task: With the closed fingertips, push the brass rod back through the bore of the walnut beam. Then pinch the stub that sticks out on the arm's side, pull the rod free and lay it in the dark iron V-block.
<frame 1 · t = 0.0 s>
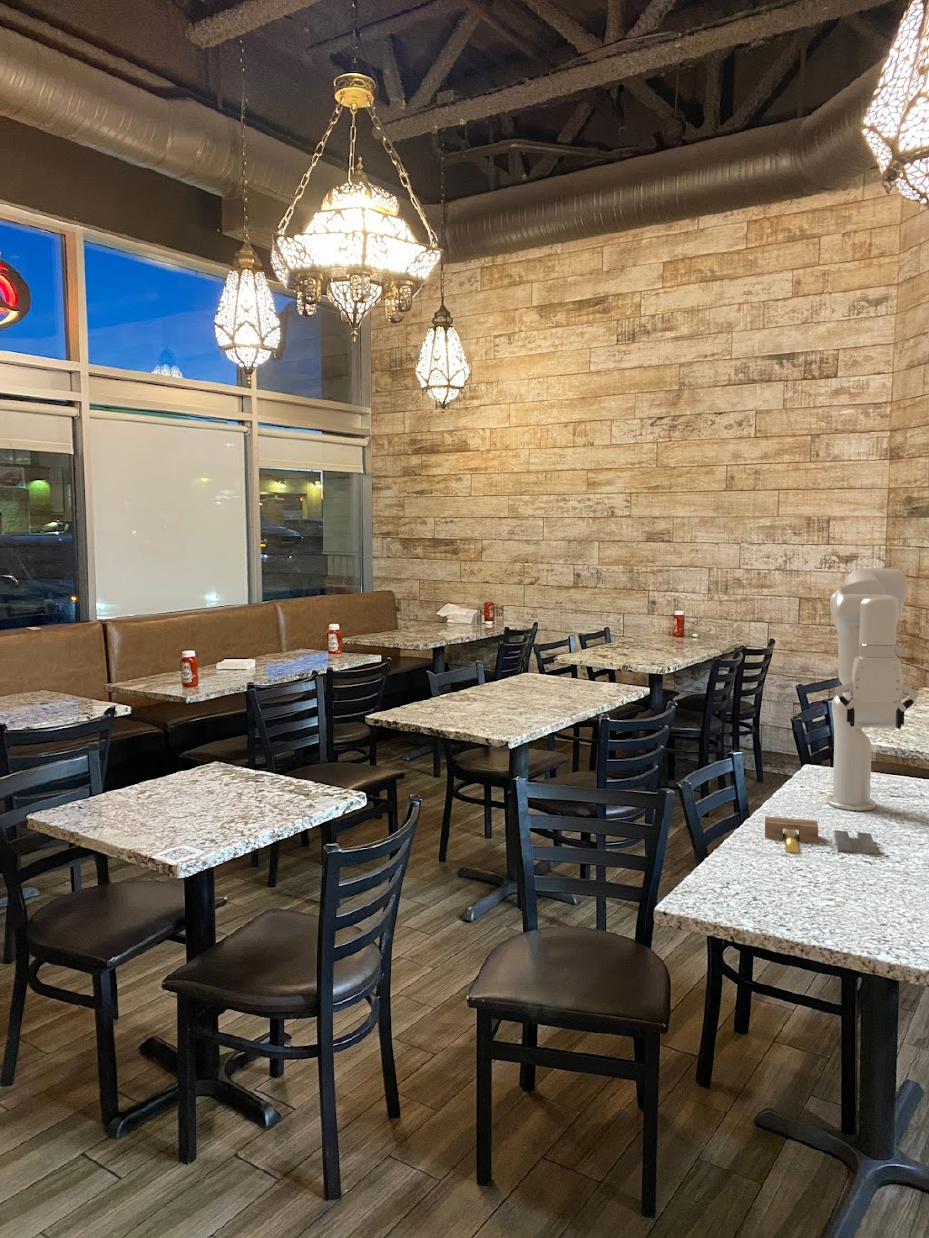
hand: (874, 726, 199), 31 cm above the table, tool pointing down, fingers open, 9 cm apart
iron V-block: (854, 850, 207), on the table
walnut beam: (790, 841, 214), on the table
brass rod: (791, 842, 210), point 1 cm above the table
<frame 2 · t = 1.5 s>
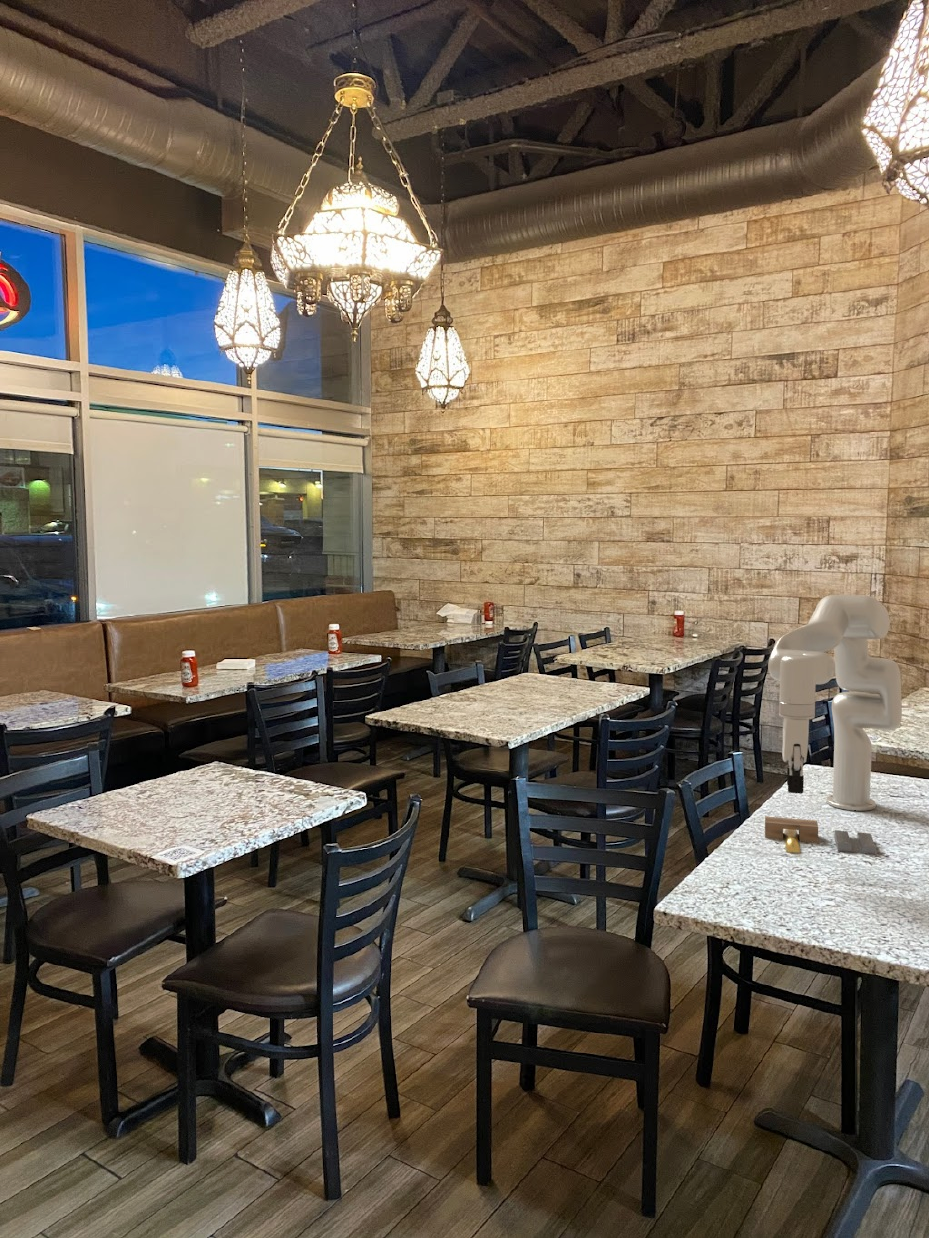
hand: (794, 788, 198), 17 cm above the table, tool pointing down, fingers open, 5 cm apart
nothing on the table moved.
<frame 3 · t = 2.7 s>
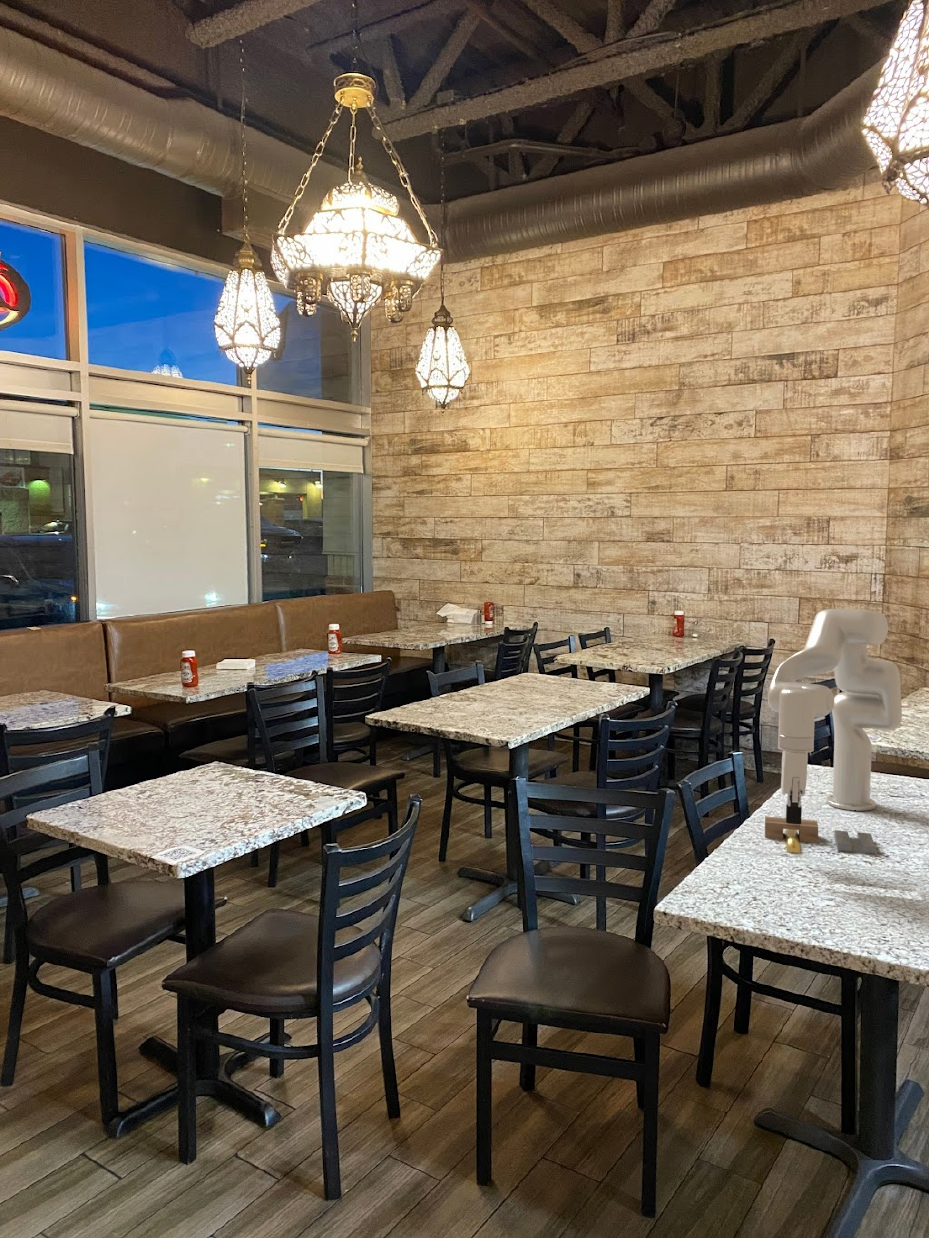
hand: (793, 822, 198), 10 cm above the table, tool pointing down, fingers closed
nothing on the table moved.
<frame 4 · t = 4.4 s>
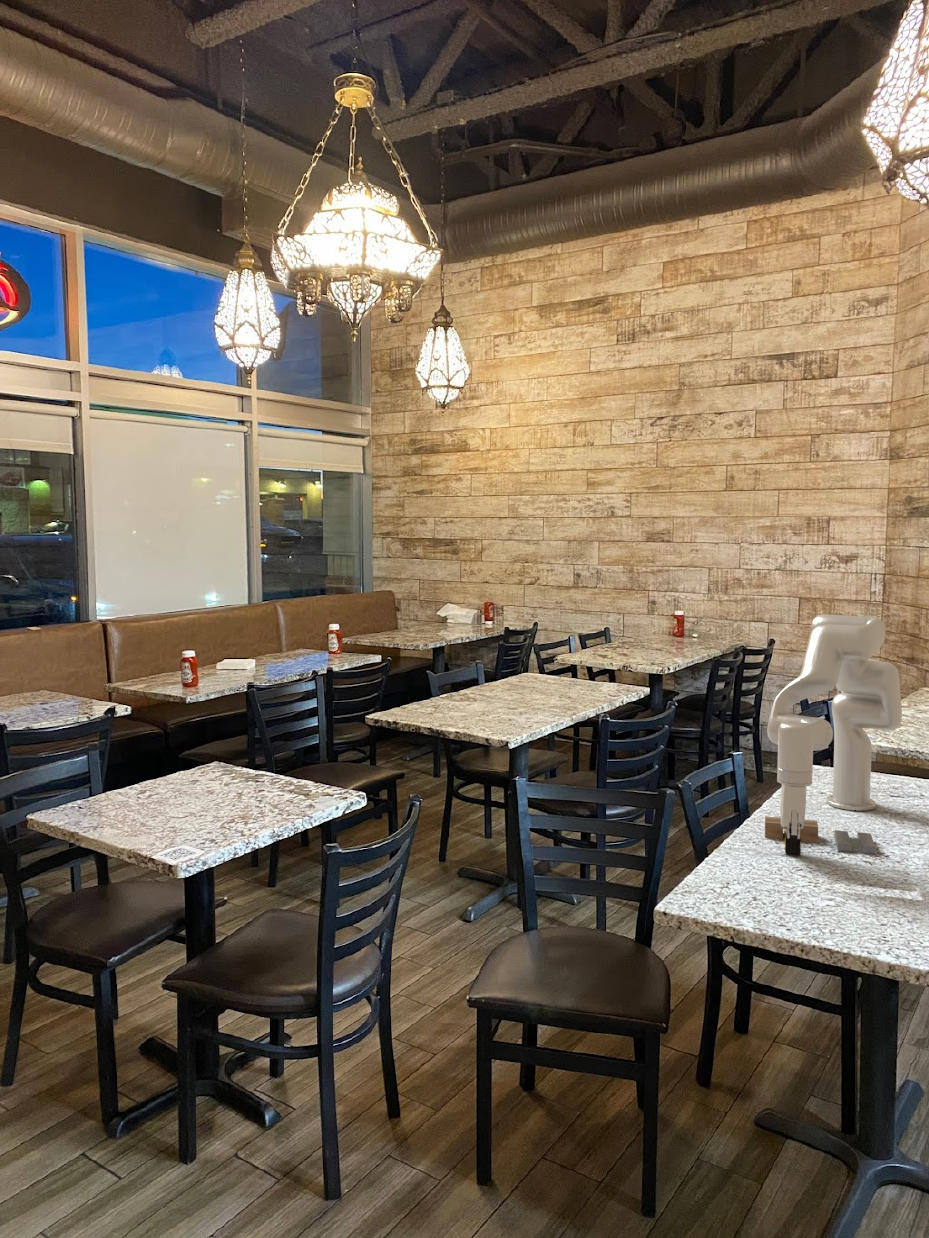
hand: (792, 853, 202), 1 cm above the table, tool pointing down, fingers closed
brass rod: (790, 840, 210), point 1 cm above the table, tilted 8°, touching gripper
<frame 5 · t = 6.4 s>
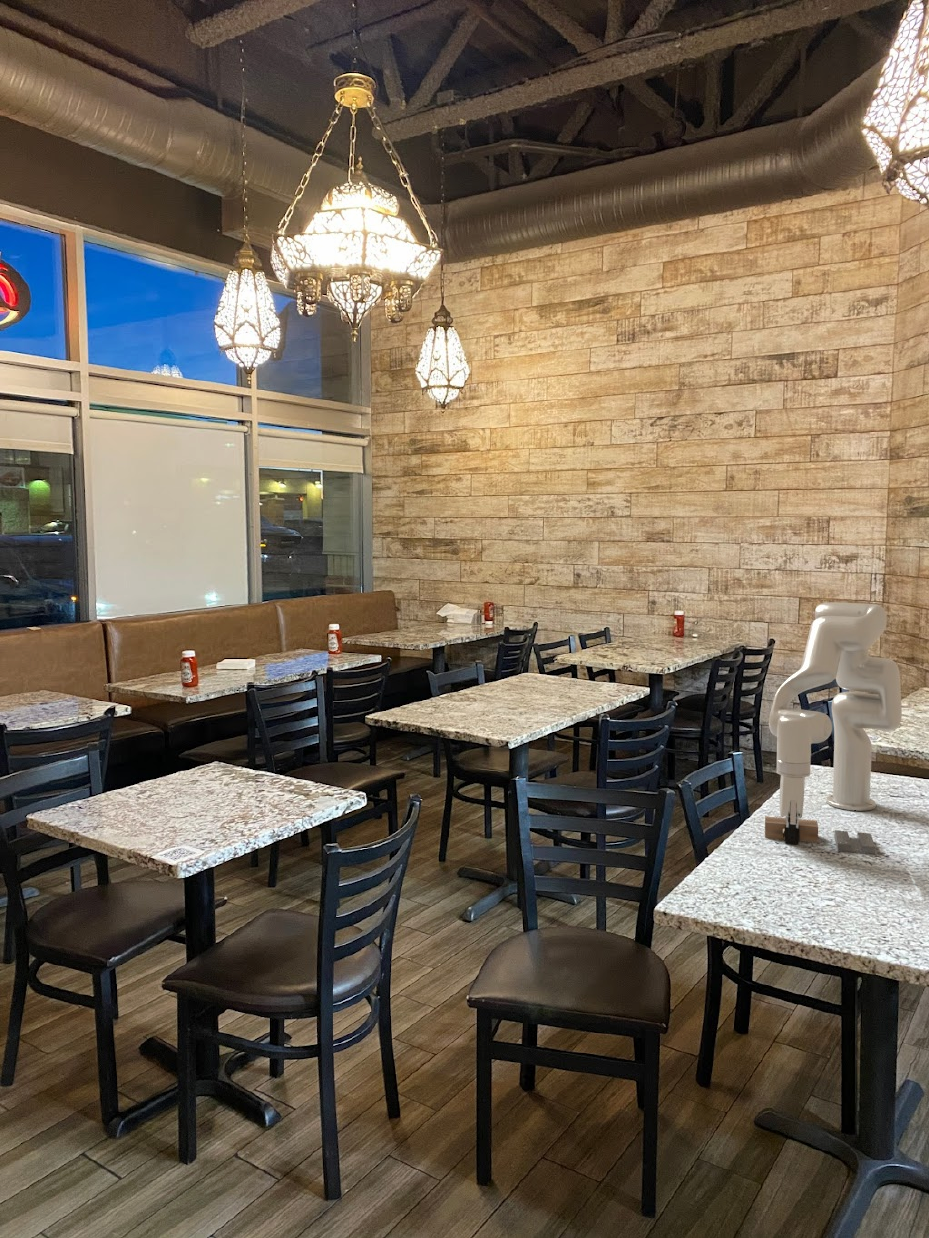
hand: (791, 842, 209), 1 cm above the table, tool pointing down, fingers closed
brass rod: (789, 831, 218), point 1 cm above the table, tilted 10°
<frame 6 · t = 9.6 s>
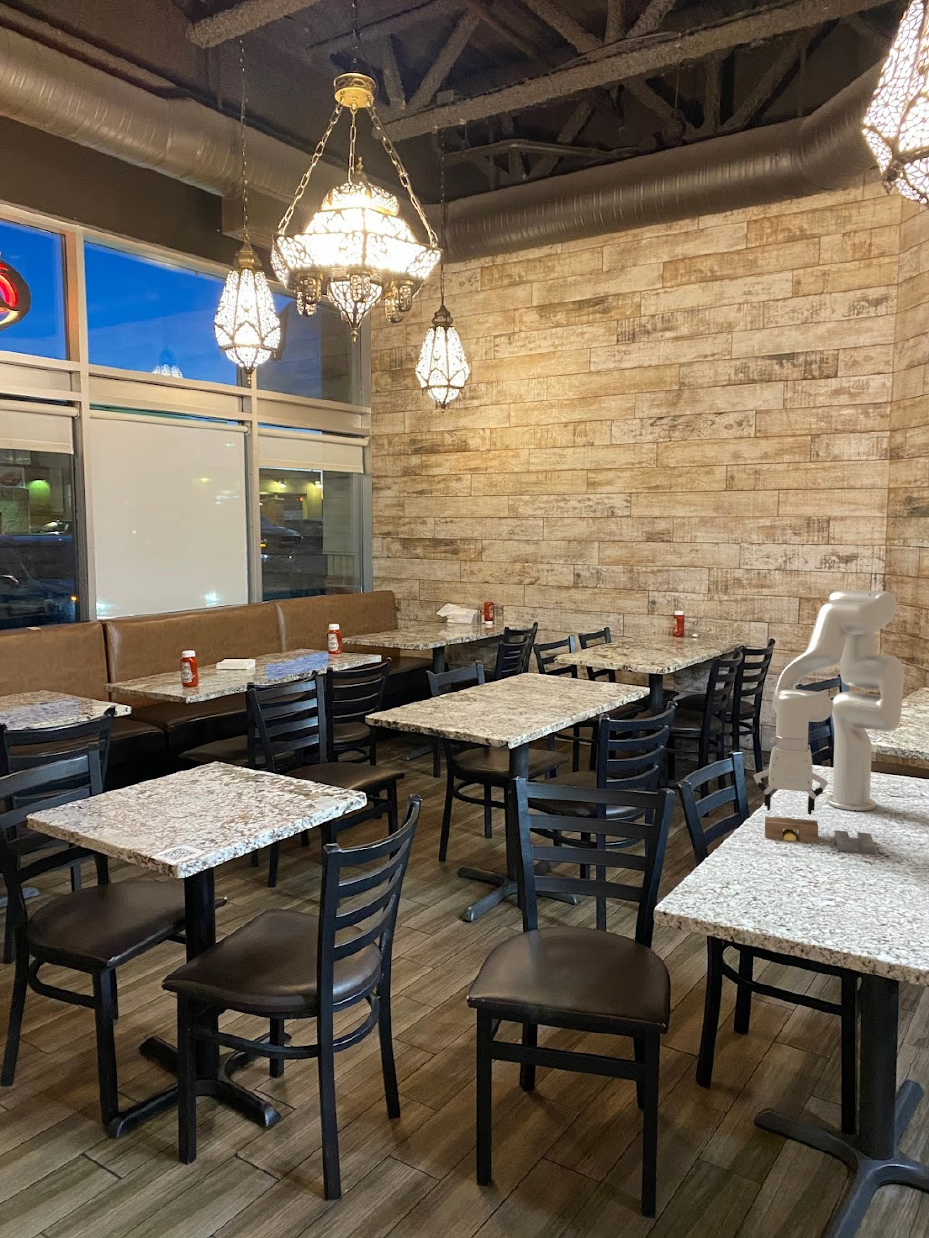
hand: (788, 811, 219), 6 cm above the table, tool pointing down, fingers open, 9 cm apart
brass rod: (789, 831, 218), point 1 cm above the table, tilted 15°
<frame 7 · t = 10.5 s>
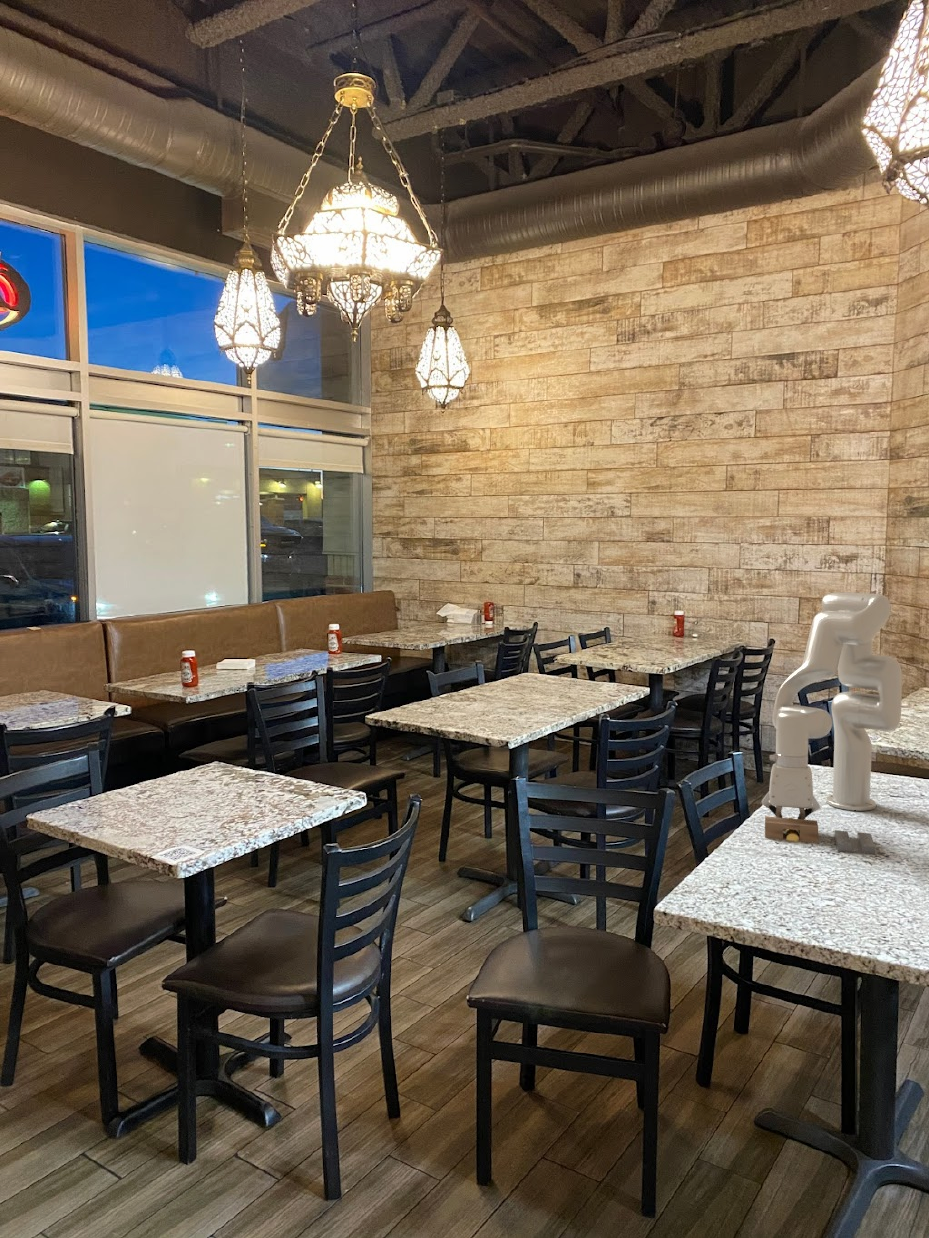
hand: (789, 831, 220), 0 cm above the table, tool pointing down, fingers open, 3 cm apart
brass rod: (791, 831, 218), point 1 cm above the table, tilted 12°, touching gripper
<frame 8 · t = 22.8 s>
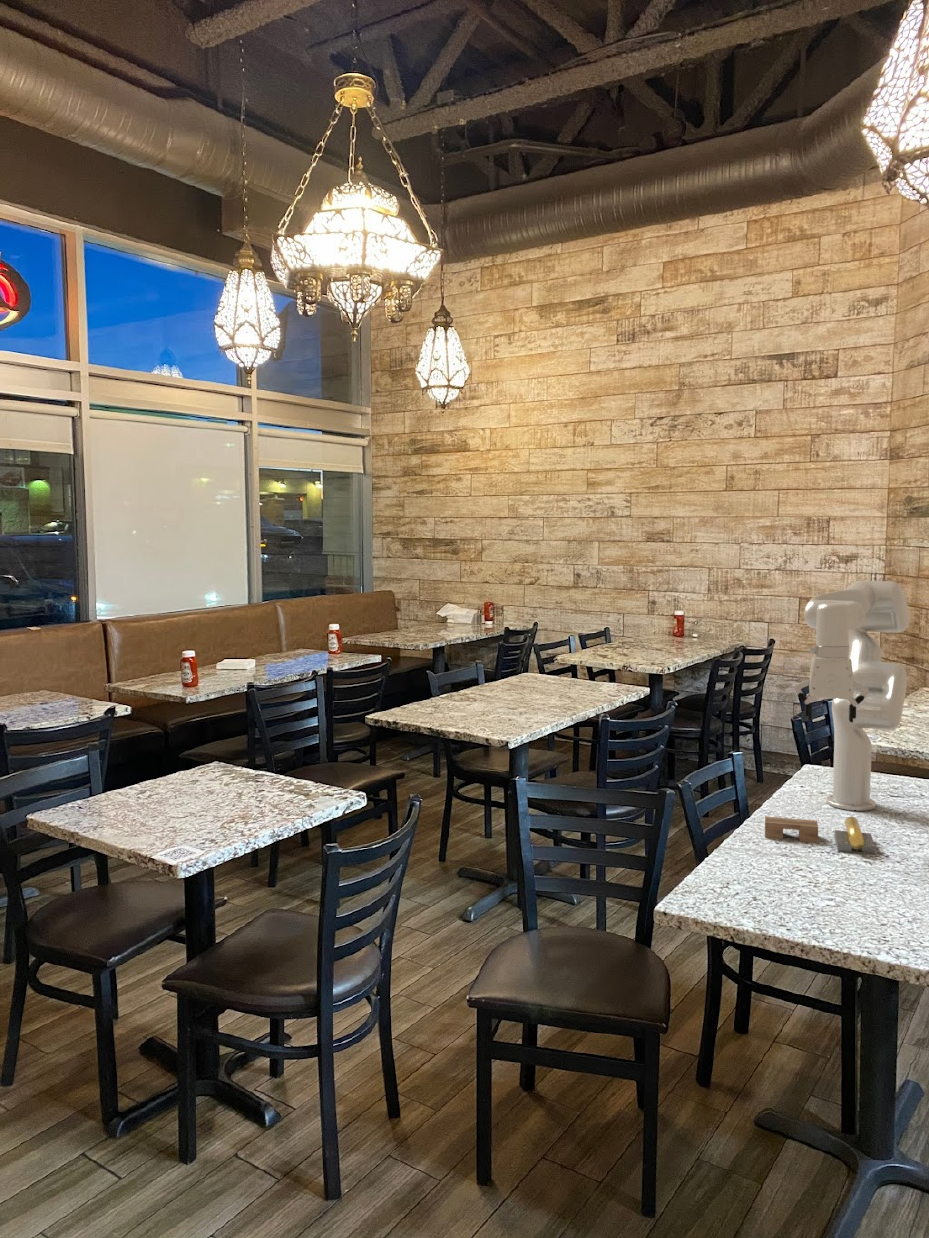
hand: (830, 720, 220), 28 cm above the table, tool pointing down, fingers open, 9 cm apart
brass rod: (854, 832, 208), point 4 cm above the table, touching iron V-block
at the end: brass rod 0.8 cm off-centre on the iron V-block, point 4.2 cm above the iron V-block's base; brass rod touching iron V-block; the gripper is holding nothing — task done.
